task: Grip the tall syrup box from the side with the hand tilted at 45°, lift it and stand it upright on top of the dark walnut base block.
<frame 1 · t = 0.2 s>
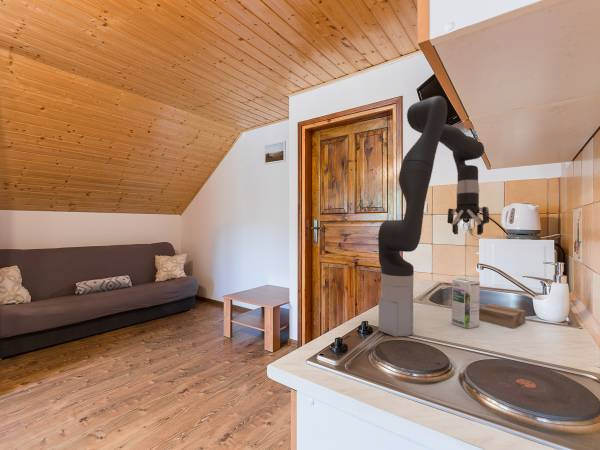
hand: (467, 234, 113), 28 cm above the counter, tool pointing down, fingers open, 8 cm apart
syrup box: (465, 325, 93), on the counter
walnut base: (501, 321, 97), on the counter
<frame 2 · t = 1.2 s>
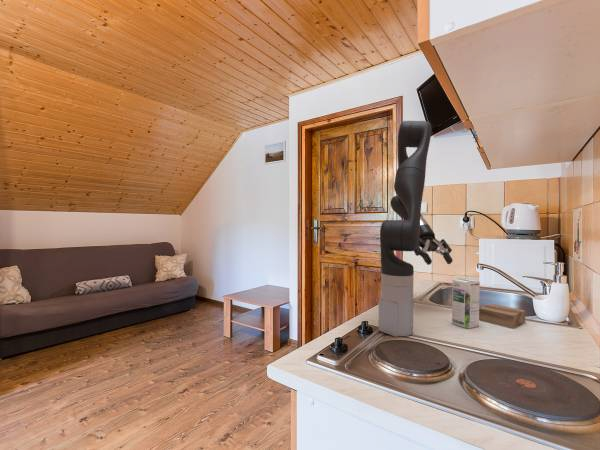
hand: (440, 263, 104), 18 cm above the counter, tool tilted 45°, fingers open, 8 cm apart
nothing on the counter moved.
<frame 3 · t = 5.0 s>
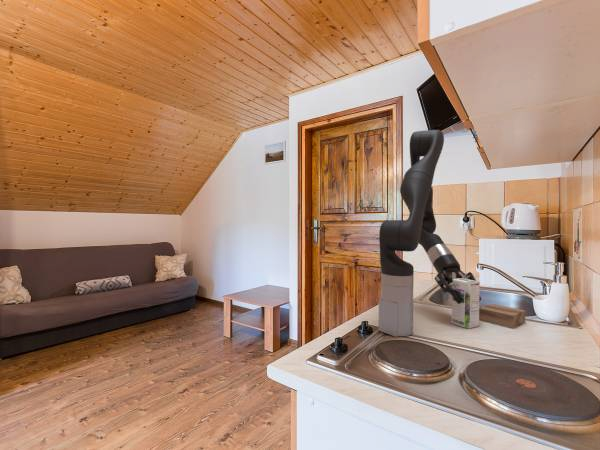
hand: (470, 301, 92), 8 cm above the counter, tool tilted 45°, fingers closed on syrup box, 6 cm apart
syrup box: (465, 325, 93), on the counter, touching gripper
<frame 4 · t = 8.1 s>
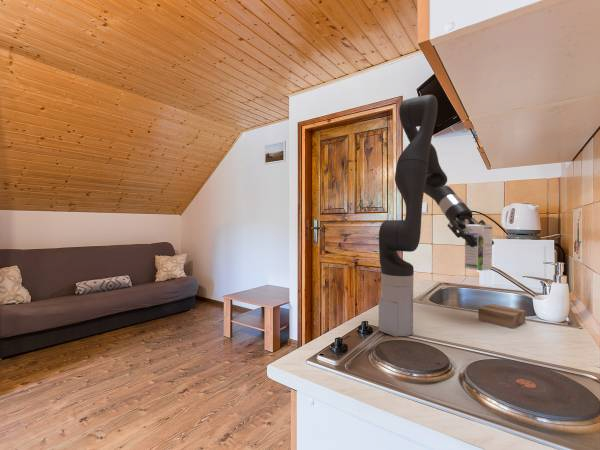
hand: (483, 245, 94), 26 cm above the counter, tool tilted 45°, fingers closed on syrup box, 6 cm apart
syrup box: (478, 269, 95), point 18 cm above the counter, touching gripper
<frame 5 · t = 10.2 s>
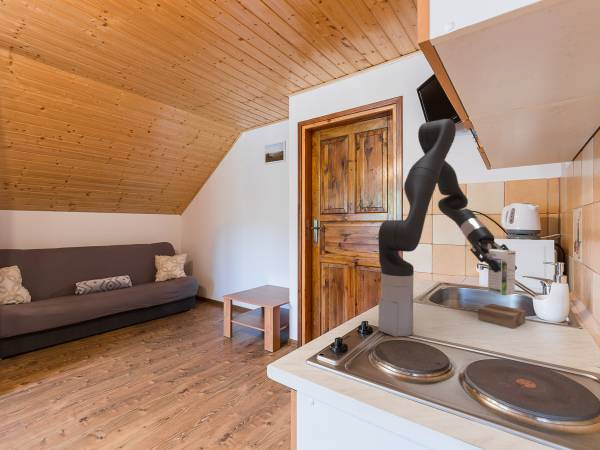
hand: (506, 270, 96), 17 cm above the counter, tool tilted 45°, fingers closed on syrup box, 6 cm apart
syrup box: (501, 293, 97), point 9 cm above the counter, touching gripper
when the fingers open (13 cm above the counter, at t = 11.6 s): syrup box stays where it is, resting on walnut base.
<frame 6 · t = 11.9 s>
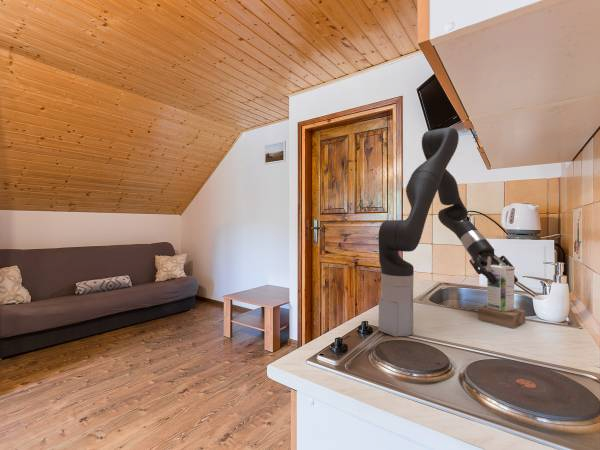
hand: (505, 282, 96), 13 cm above the counter, tool tilted 45°, fingers open, 8 cm apart
syrup box: (500, 309, 97), point 4 cm above the counter, touching walnut base
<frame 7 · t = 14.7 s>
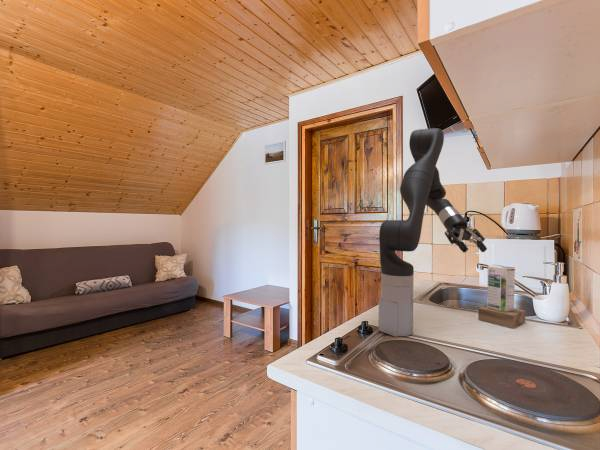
hand: (475, 250, 108), 23 cm above the counter, tool tilted 45°, fingers open, 8 cm apart
nothing on the counter moved.
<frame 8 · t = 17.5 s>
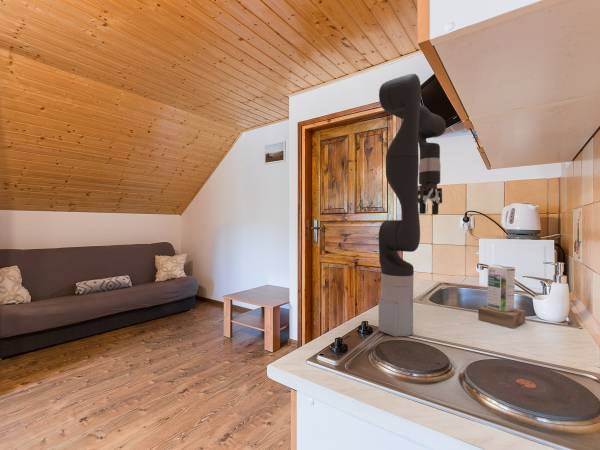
hand: (429, 214, 111), 36 cm above the counter, tool pointing down, fingers open, 8 cm apart
nothing on the counter moved.
at the end: syrup box 0.3 cm off-centre on the walnut base, point 3.8 cm above the walnut base's base; syrup box tilted 0°; the gripper is holding nothing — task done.
